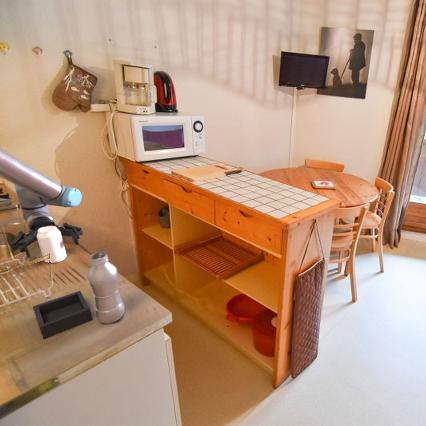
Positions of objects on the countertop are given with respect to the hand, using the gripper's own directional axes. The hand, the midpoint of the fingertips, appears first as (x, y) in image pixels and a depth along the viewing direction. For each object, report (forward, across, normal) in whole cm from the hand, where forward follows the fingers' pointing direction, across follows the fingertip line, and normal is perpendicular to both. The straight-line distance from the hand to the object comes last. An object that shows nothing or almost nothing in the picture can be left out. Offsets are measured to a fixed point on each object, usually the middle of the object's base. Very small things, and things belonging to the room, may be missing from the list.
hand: (53, 247), depth 106 cm
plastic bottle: (+40, -5, -7) cm, 41 cm away
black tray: (+32, +4, -7) cm, 33 cm away
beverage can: (-3, 0, -7) cm, 8 cm away
